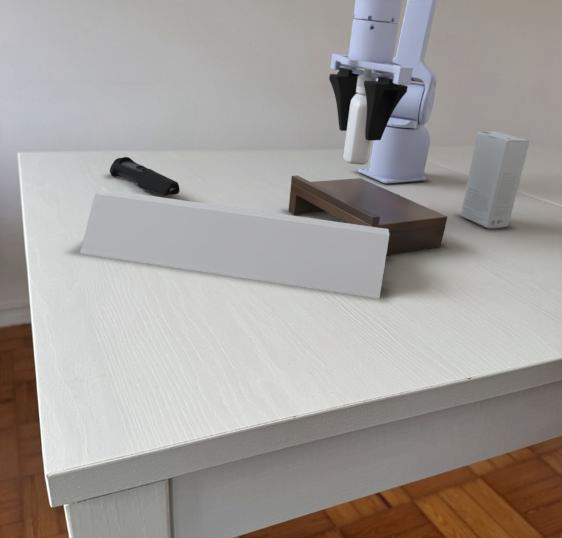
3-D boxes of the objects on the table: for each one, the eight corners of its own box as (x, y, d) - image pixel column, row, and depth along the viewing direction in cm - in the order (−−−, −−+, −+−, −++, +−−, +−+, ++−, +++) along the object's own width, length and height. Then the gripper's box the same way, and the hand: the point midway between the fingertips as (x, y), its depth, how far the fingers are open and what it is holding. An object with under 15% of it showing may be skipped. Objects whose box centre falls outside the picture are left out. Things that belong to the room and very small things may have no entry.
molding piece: (371, 325, 72) (383, 248, 74) (379, 299, 61) (393, 208, 63) (117, 285, 76) (134, 212, 78) (79, 253, 65) (101, 169, 66)
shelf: (356, 204, 89) (361, 170, 86) (440, 246, 76) (449, 208, 73) (288, 211, 83) (291, 175, 81) (366, 258, 70) (373, 217, 68)
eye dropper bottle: (377, 160, 84) (392, 66, 78) (361, 166, 80) (376, 68, 74) (349, 154, 86) (362, 62, 80) (332, 160, 81) (344, 63, 75)
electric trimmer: (162, 205, 82) (162, 182, 80) (107, 175, 91) (106, 154, 89) (185, 201, 84) (186, 179, 82) (129, 173, 93) (129, 152, 92)
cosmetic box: (509, 227, 86) (534, 140, 79) (485, 229, 84) (509, 140, 78) (479, 213, 90) (501, 130, 84) (456, 215, 88) (477, 130, 82)
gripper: (317, 14, 77) (306, 124, 84) (387, 23, 67) (368, 147, 74) (360, 18, 81) (346, 123, 88) (434, 27, 70) (411, 146, 77)
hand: (359, 134), depth 81 cm, fingers closed on eye dropper bottle, 5 cm apart
